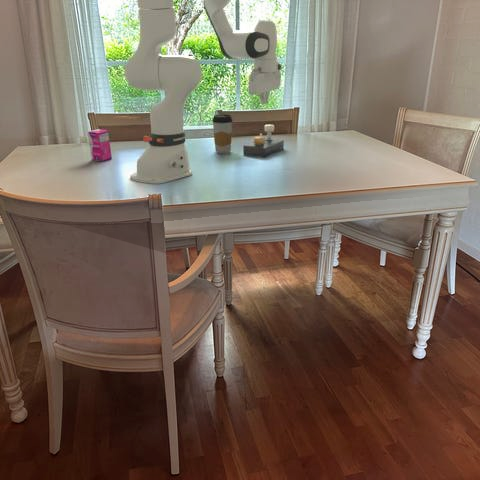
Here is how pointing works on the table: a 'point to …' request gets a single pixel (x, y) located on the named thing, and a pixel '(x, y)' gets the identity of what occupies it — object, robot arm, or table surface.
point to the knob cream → (269, 131)
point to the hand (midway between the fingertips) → (264, 103)
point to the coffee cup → (222, 133)
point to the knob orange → (259, 140)
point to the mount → (263, 148)
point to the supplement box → (99, 145)
